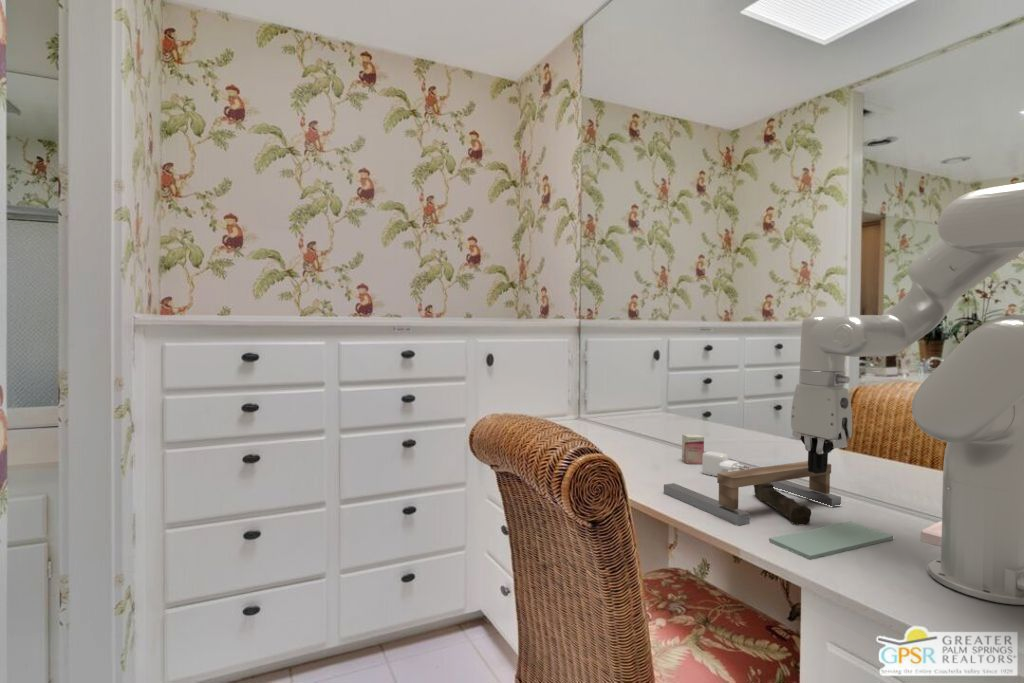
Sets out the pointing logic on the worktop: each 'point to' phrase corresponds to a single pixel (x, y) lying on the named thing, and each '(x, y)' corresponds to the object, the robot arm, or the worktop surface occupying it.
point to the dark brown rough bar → (783, 503)
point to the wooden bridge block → (768, 480)
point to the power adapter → (719, 463)
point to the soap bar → (932, 534)
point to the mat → (830, 539)
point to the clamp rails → (739, 515)
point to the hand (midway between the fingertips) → (817, 471)
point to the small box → (692, 448)
